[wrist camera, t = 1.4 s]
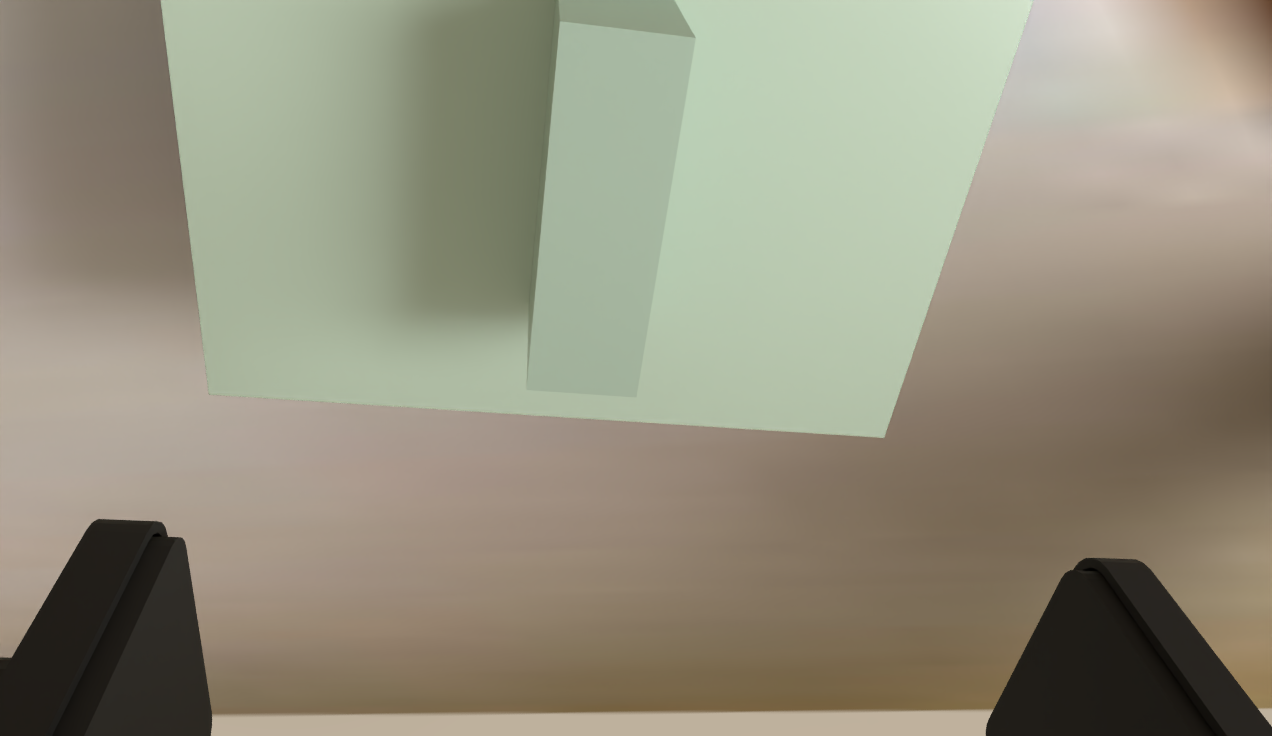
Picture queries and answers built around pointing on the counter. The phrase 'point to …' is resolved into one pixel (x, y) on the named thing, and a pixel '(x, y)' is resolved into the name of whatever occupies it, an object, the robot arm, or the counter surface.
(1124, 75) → the counter surface
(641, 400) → the lid
